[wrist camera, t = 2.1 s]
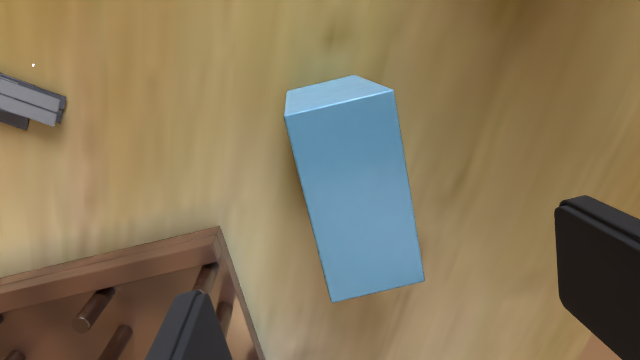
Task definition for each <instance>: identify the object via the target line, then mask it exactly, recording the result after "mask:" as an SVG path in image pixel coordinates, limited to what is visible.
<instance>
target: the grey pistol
mask: <svg viewBox="0 0 640 360" xmlns="http://www.w3.org/2000/svg"><path fill="white" fill-rule="evenodd" d="M32 66H34V64H33V63H32ZM65 100H66V97H64V96H61V95H59V94H56V93H53V92H50V91H47V90H45V89H42V88H39V87H36V86H35V85H32V84H29V83H26V82H24V81H21V80H18V79H15V78H12V77H10V76H7V75H4V74H1V73H0V122H2V123H5V124H8V125H11V126H14V127H17V128H20V129H23V130H27V127H28V122H29V118H30V119H33V120H36V121H39V122H42V123H44V124H47V125H50V126H53V127H54V125H55V122H57V123H61V119H62V114H63V111H60V110H58V108H60V109H63V110H64V105H65Z"/></svg>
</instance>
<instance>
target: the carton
mask: <svg viewBox="0 0 640 360" xmlns="http://www.w3.org/2000/svg"><path fill="white" fill-rule="evenodd" d="M284 120H285V124H286V128H287V132H288V136H289V140H290V144H291V148H292V152H293V156H294V160H295V163H296V167H297V171H298V175H299V179H300V183H301V187H302V191H303V195H304V199H305V202H306V206H307V210H308V214H309V218H310V222H311V226H312V230H313V234H314V238H315V241H316V245H317V249H318V253H319V257H320V261H321V265H322V269H323V273H324V277H325V280H326V284H327V288H328V292H329V296H330V300H331V302H332V303H334V302H339V301H343V300H347V299H351V298H356V297H360V296H364V295H368V294H373V293H377V292H381V291H385V290H390V289H394V288H398V287H402V286H407V285H411V284H415V283H419V282H424V281H425V277H424V271H423V265H422V259H421V253H420V247H419V241H418V235H417V228H416V222H415V216H414V210H413V204H412V198H411V192H410V186H409V180H408V174H407V168H406V162H405V156H404V149H403V143H402V137H401V131H400V125H399V119H398V113H397V107H396V101H395V95H394V91H393V90H392V89H390V88H387V87H385V86H382V85H380V84H377V83H374V82H372V81H369V80H367V79H364V78H361V77H359V76H356V75H352V76H348V77H344V78H339V79H335V80H331V81H327V82H323V83H318V84H314V85H310V86H306V87H302V88H297V89H293V90H289V91H287V94H286V102H285V111H284Z"/></svg>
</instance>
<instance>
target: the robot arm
mask: <svg viewBox="0 0 640 360" xmlns="http://www.w3.org/2000/svg"><path fill="white" fill-rule="evenodd" d="M554 218H555V235H556V253H557V271H558V288H559V297H560V300H561V302H562V304H563V306H564V307H565V308H566V309H567V310H568V311H569V312H570V313H571V314H572V315H573V316H575V317H576V318H577V319H578V320H579V321H580V322H581V323H582V324H583V325H584V326H586V327H587V328H588V329H589V330H590V331H591V332H592V333H593V334H594V335H596V336H597V337H598V338H599V339H600V340H601V341H602V342H603V343H604V344H605V345H607V346H608V347H609V348H610V349H611V350H612V351H613V352H614V353H615V354H617V355H618V356H619V357H620V358H621V359H622V360H640V220H639V219H637V218H635V217H633V216H631V215H629V214H626V213H624V212H622V211H620V210H618V209H616V208H613V207H611V206H609V205H607V204H605V203H602V202H600V201H598V200H596V199H594V198H592V197H589V196H586V195H584V196H579V197H575V198H571V199H567V200H563V201H562V202H560V205H559V207H557V208H556V209H555V211H554ZM144 360H233V359H232V356H231V353H230V350H229V348H228V345H227V342H226V339H225V337H224V334H223V331H222V328H221V326H220V323H219V320H218V317H217V315H216V312H215V309H214V306H213V304H212V301H211V298H210V296H209V295H208V294H207V293H205V294H202V293H201V291H200V290H194V291H190V292H186V293H182V294H178V295H176V296H175V298H174V300H173V302H172V304H171V306H170V308H169V310H168V312H167V314H166V317H165V319H164V321H163V323H162V325H161V327H160V329H159V331H158V333H157V335H156V337H155V340H154V342H153V344H152V346H151V348H150V350H149V352H148V354H147V356H146V358H145V359H144Z"/></svg>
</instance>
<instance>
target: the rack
mask: <svg viewBox="0 0 640 360" xmlns="http://www.w3.org/2000/svg"><path fill="white" fill-rule="evenodd" d="M194 290H200V291H201V293H202V294H205V293H207V294H208V295H209V296H210V298H211V301H212V304H213V306H214V309H215V312H216V315H217V317H218V320H219V323H220V326H221V328H222V331H223V334H224V337H225V339H226V342H227V345H228V348H229V350H230V353H231V356H232V359H233V360H265V359H264V356H263V353H262V350H261V347H260V344H259V341H258V338H257V335H256V332H255V329H254V326H253V323H252V320H251V317H250V314H249V311H248V308H247V305H246V302H245V299H244V296H243V293H242V290H241V287H240V284H239V282H238V279H237V276H236V273H235V270H234V267H233V264H232V261H231V258H230V255H229V252H228V249H227V246H226V243H225V240H224V237H223V234H222V231H221V228H220V226H218V227H214V228H210V229H206V230H202V231H197V232H193V233H189V234H185V235H180V236H176V237H172V238H168V239H164V240H159V241H155V242H151V243H147V244H142V245H138V246H134V247H130V248H126V249H121V250H117V251H113V252H109V253H104V254H100V255H96V256H92V257H88V258H83V259H79V260H75V261H71V262H66V263H62V264H58V265H54V266H49V267H45V268H41V269H37V270H33V271H28V272H24V273H20V274H16V275H11V276H7V277H3V278H0V360H144V359H145V358H146V356H147V354H148V352H149V350H150V348H151V346H152V344H153V342H154V340H155V337H156V335H157V333H158V331H159V329H160V327H161V325H162V323H163V321H164V319H165V317H166V314H167V312H168V310H169V308H170V306H171V304H172V302H173V300H174V298H175V296H176V295H178V294H182V293H186V292H190V291H194Z"/></svg>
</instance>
